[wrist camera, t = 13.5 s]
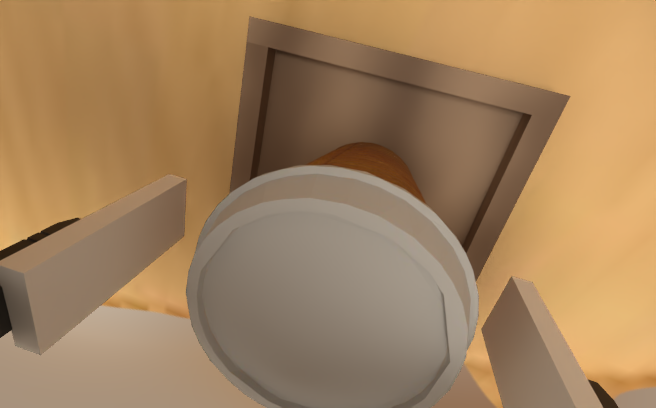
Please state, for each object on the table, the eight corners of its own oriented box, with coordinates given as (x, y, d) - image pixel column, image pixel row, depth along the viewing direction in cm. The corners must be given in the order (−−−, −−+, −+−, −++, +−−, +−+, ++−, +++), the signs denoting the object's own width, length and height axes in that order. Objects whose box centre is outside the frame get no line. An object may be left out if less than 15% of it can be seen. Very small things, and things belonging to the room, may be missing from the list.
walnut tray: (233, 253, 26) (221, 268, 24) (264, 20, 19) (249, 16, 18) (442, 321, 24) (445, 342, 23) (553, 92, 18) (570, 96, 16)
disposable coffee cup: (404, 280, 23) (402, 477, 12) (272, 227, 23) (157, 370, 13) (474, 148, 19) (566, 268, 8) (313, 88, 19) (194, 123, 9)
